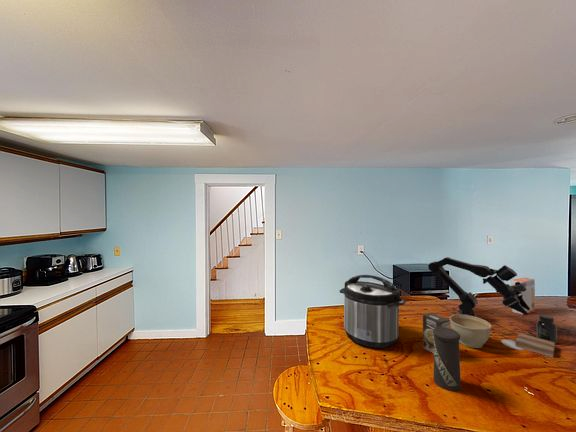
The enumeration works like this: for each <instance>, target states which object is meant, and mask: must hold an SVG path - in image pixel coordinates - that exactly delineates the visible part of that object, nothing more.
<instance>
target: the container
mask: <svg viewBox="0 0 576 432" xmlns="http://www.w3.org/2000/svg"><path fill="white" fill-rule="evenodd" d="M433 334H434V354H433V381H434V383H435V384H436V385H437V386H439V387H440V388H441V389H445V390H448V391H452V392H453V391H454V392H455V391H459V390H460V389H461V387H462V386H461V383H462V382H461V364H460V363H461V359H460V342H459V340H460V334H459V333H458V332H457V331H455V330H453V329H452V328H451V327H450V328H446V327H436V328H434V329H433Z"/></svg>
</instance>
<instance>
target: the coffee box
mask: <svg viewBox="0 0 576 432" xmlns="http://www.w3.org/2000/svg"><path fill="white" fill-rule="evenodd" d="M436 327H446V328H450V329H451V323H450V318H449V319H448V318H447V317H443V316H441V315H439V314H437V313H434V312H428V313H427V312H426V313H423V314H422V348H423V349H424V350H426V351H427V352H429V351H430V353H431V352H432V353H431V354H433V355H434V334H433V329H434V328H436Z"/></svg>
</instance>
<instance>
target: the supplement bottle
mask: <svg viewBox="0 0 576 432" xmlns="http://www.w3.org/2000/svg"><path fill="white" fill-rule="evenodd" d="M536 337H537V338H540V339H544V340H548V341H552V342H555V345H556V344H558V325H557V324H556V323H555V319H554V317H553V316H549V315H547V314H546V315H545V314H540V315H539V317H538V320H537V321H536Z"/></svg>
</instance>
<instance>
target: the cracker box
mask: <svg viewBox="0 0 576 432" xmlns="http://www.w3.org/2000/svg"><path fill="white" fill-rule="evenodd" d="M510 281H511V282H510V286H512V285H515V283H516V282H520V283H521V284H522V283H523V284H524V285H525V287H526V289H527V290H526V291H524V292H522V291H521V292H522V294H523V300H524V301H525V302H526V304H527V305H528V306H529V308H530V310H527V309H525V308H524V309H525V311H526V312H527V313H528V314H531V313H535V312H536V293H535V292H536V289H535V278H529V277H520V278H515V279H514V278H512V279H510ZM519 295H521V294H519ZM511 312H512V313H513V314H514V313H515V314H518V315H522V316H524V315H525V314H523V313H521V312H518V311H516V310H514V309H512V308H511Z"/></svg>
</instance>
